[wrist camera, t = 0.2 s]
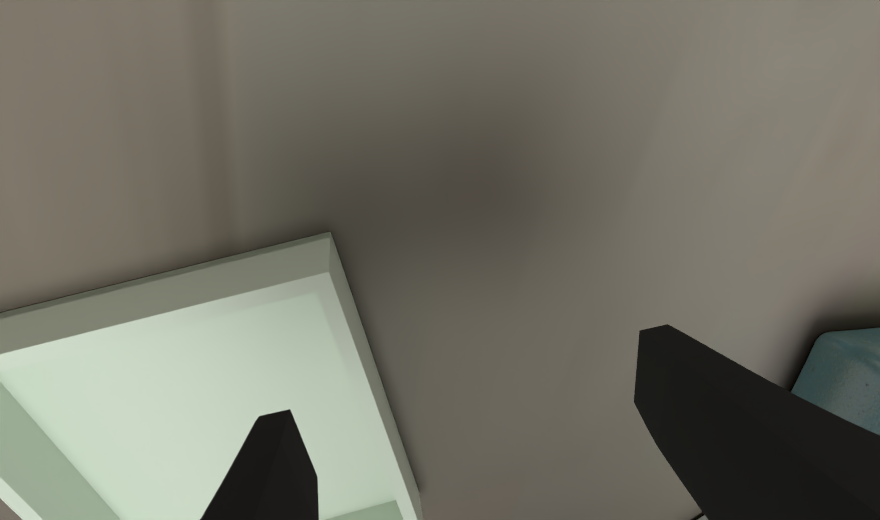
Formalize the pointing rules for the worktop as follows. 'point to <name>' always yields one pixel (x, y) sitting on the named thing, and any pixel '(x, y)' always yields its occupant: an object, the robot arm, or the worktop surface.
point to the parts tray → (195, 391)
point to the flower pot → (845, 376)
